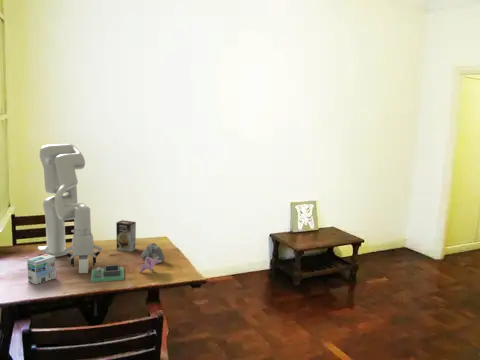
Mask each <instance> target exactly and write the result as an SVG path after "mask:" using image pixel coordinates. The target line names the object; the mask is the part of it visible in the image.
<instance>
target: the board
mask: <svg viewBox="0 0 480 360" xmlns="http://www.w3.org/2000/svg"><path fill="white" fill-rule="evenodd" d="M124 269H125V267H122V266H121V264H109V265H103V267H100V266H99V267H95V268H92V269H91V274H90V275H91V276H90V283H94V282H95V283H97V282H99V283H100V282H111V281H124V280H125V272H124Z"/></svg>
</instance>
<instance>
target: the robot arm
mask: <svg viewBox="0 0 480 360" xmlns="http://www.w3.org/2000/svg"><path fill="white" fill-rule="evenodd" d="M39 159H40V162H41V164H42V168H43V178H44V190H45V192H46V193H47V194H49V195H55V196H49V197H47V198H45V199H44V200H43V202H42V207H43V212H44V219H45V236H46V245H44V246H38V247H37V250H38V251H40V252H43V255H44V254H49V255H52V256H55V258H59V257H63V256H67V257H68V258H69V260H70V265H71V266H72V267H75V257H76V256H77V257H79V256H82V255H88V256H92V266H95V265H96V264H97V257H98V256H99V255H100V253H101V252H102V249H103V248H102V247H100V246H98V245H97V244H95V243H94V242H95V241H94V235H93V233H92V226H91V222H92V221H91V208H90V207H89V206H87V205H86V204H85V203H83V202H78V187H77V185H78V181H79V180H78V176H77V174H76V170H77V171H78V170H83V169H84V168H85V165H86V159H85V157H84V155H83V153H82V152H81V151H80V149H78V147H77V146H75V145H74V144H72V143H59V144H54V143H53V144H45V145H42V146H41V148H40V149H39ZM64 194H65V195H64ZM69 220H73V223H74V227H73V229H71V233H73V235H72V239H71V245H70V246H69V247H67V248H66V226H65V224H66V223H65V221H69ZM95 249H96V250H97V251H96V252H95ZM70 251H71V253H70Z"/></svg>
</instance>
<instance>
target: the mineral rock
mask: <svg viewBox="0 0 480 360" xmlns="http://www.w3.org/2000/svg"><path fill="white" fill-rule="evenodd" d="M140 256H141V258H143V259H144V260H145V259H146V257H150V258H152V259H155V258H156V257H158V256H159V258H158V259H157V260H161V262H159V263H157V264H156V265H158V264H162V263H164V261H165V255H164V252H163V250H162V248H161V247H160V246H159V245H157V243H155V242H153V243H150V244H148V245H147V247H146V248H145V249H144V250H143V251H142V252H141V255H140Z"/></svg>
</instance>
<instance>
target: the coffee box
mask: <svg viewBox="0 0 480 360" xmlns="http://www.w3.org/2000/svg"><path fill="white" fill-rule="evenodd" d="M115 225H116V227H115V229H116V251H122V252H127V253H131V252H133V251H134V250H136V248H137V247H136V245H137V244H136V242H137V240H136V238H137V237H136V236H137V235H136V234H137V233H136V232H137V230H136V229H137V228H136V227H137V226H136V225H137V224H136V221H130V220H124V219H121V220H119V221H116V222H115Z"/></svg>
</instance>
